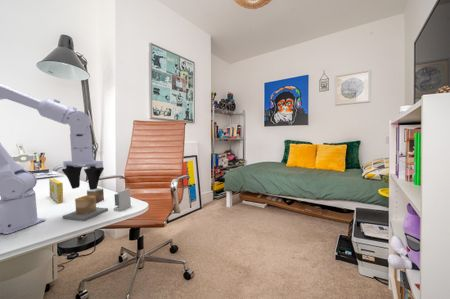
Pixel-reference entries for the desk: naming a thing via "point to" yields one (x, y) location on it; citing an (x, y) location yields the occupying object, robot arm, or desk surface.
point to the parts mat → (84, 217)
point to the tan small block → (85, 204)
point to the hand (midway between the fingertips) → (84, 188)
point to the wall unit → (122, 200)
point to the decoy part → (96, 194)
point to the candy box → (56, 190)
